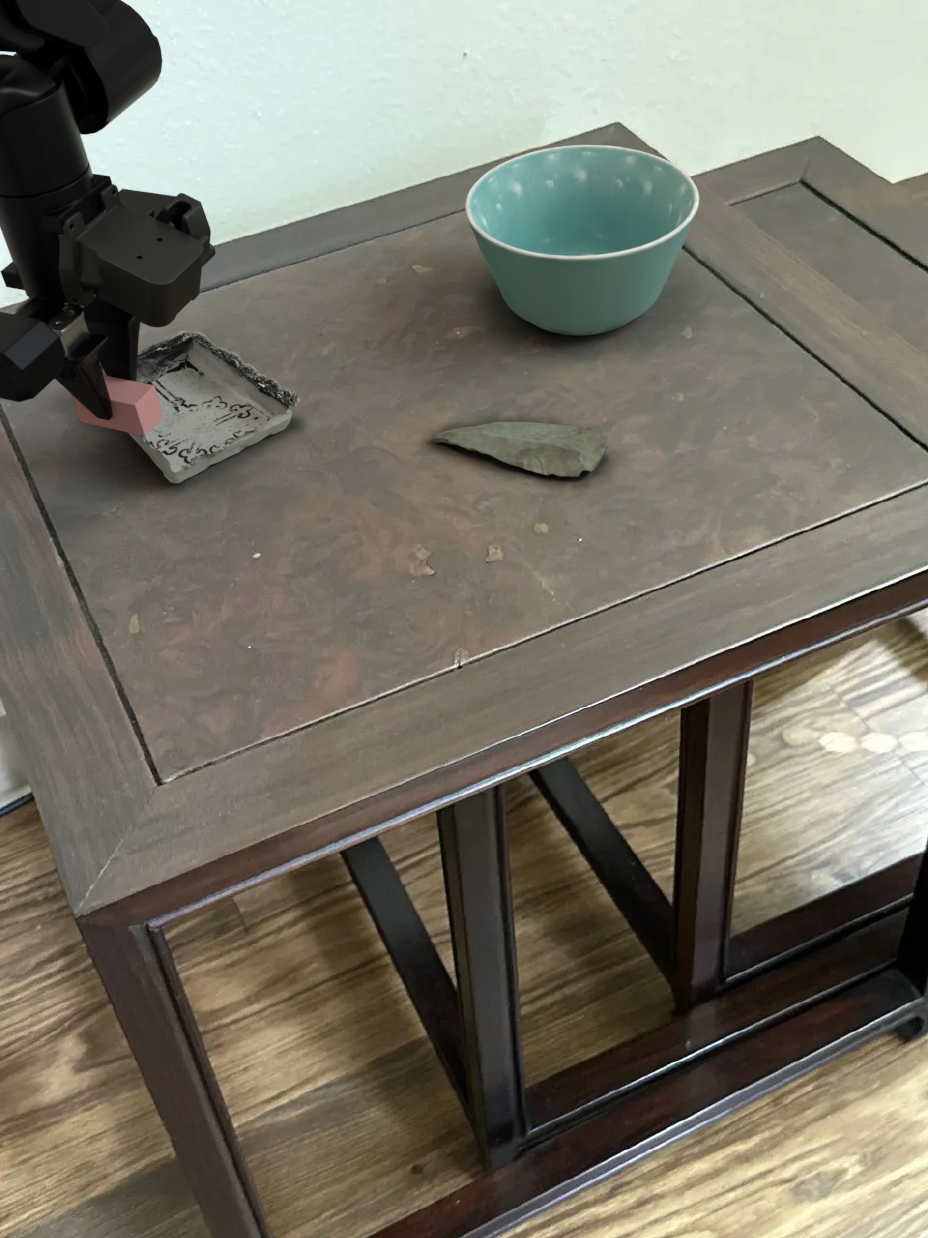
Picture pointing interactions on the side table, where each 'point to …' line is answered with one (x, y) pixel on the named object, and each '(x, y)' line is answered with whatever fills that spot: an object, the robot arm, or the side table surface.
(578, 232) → the bowl
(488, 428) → the stone
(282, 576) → the side table surface
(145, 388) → the eraser
